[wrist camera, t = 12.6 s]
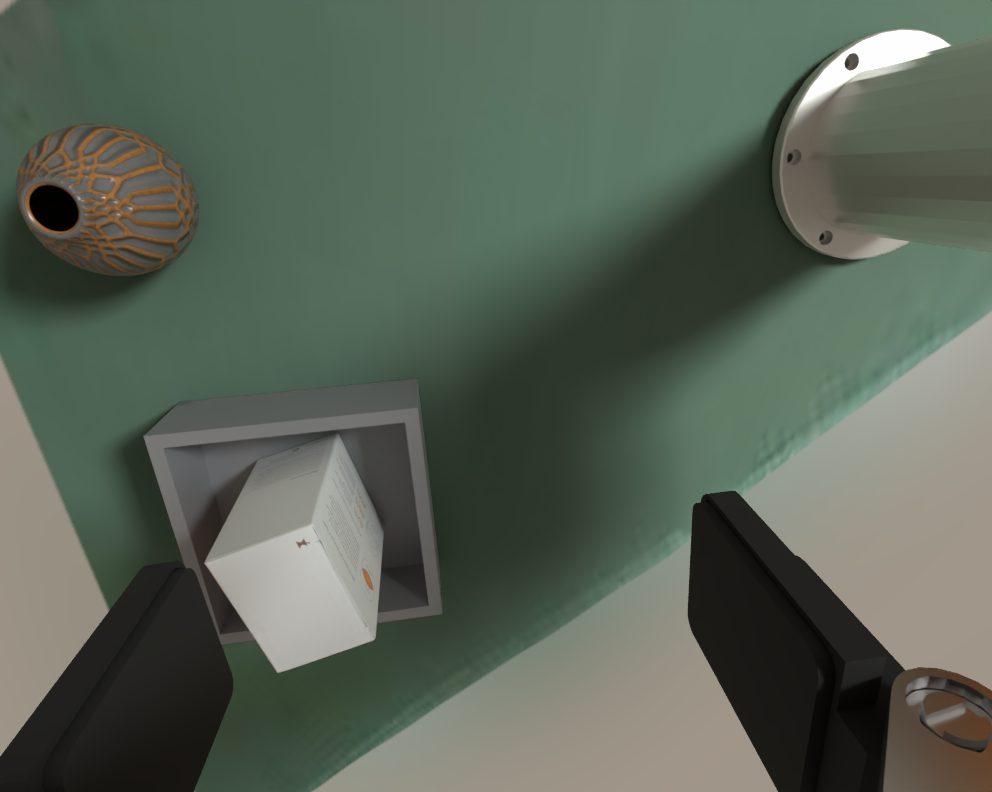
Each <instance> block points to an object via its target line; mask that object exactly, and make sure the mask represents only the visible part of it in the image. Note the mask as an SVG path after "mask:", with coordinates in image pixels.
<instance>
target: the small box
mask: <svg viewBox="0 0 992 792" xmlns="http://www.w3.org/2000/svg"><path fill="white" fill-rule="evenodd" d="M383 537H384V525H383V524H382V522H381V520H380V518H379V516H378V514H377V511H376V509H375V507H374V505H373V503H372V501H371V499H370V497H369V495H368V493H367V491H366V489H365V487H364V485H363V483H362V481H361V479H360V477H359V475H358V472H357V470H356V468H355V466H354V464H353V462H352V460H351V458H350V456H349V454H348V452H347V450H346V448H345V446H344V444H343V442H342V440H341V437H340V435H339V434H338V433H334V434H332V435H329V436H326V437H323V438H320V439H317V440H314V441H312V442H309V443H306V444H303V445H300V446H297V447H294V448H291V449H288V450H285V451H283V452H280V453H277V454H274V455H271V456H268V457H265V458H263V459H259V460H258V461H257V462H256V464H255V466H254V468H253V470H252V472H251V474H250V476H249V478H248V480H247V482H246V483H245V485H244V487H243V489H242V491H241V493H240V495H239V497H238V499H237V501H236V503H235V504H234V506H233V508H232V510H231V512H230V514H229V516H228V518H227V520H226V522H225V524H224V525H223V527H222V529H221V531H220V533H219V535H218V537H217V539H216V541H215V543H214V545H213V547H212V548H211V550H210V552H209V554H208V556H207V558H206V560H205V562H204V564H205V565H206V567H207V568H208V570H209V571H210V573H211V574H212V576H213V577H214V579H215V580H216V582H217V583H218V585H219V586H220V588H221V589H222V591H223V592H224V594H225V595H226V597H227V598H228V600H229V601H230V603H231V604H232V605H233V607H234V608H235V610H236V611H237V613H238V614H239V616H240V617H241V619H242V621H243V622H244V624H245V625H246V627H247V628H248V630H249V631H250V633H251V634H252V635H253V637H254V638H255V640H256V642H257V643H258V645H259V646H260V648H261V649H262V651H263V652H264V654H265V655H266V657H267V658H268V660H269V661H270V663H271V664H272V666H273V667H274V669H275V670H276V672H277V673H280V672H283V671H286V670H289V669H292V668H295V667H298V666H301V665H304V664H307V663H310V662H313V661H316V660H319V659H322V658H324V657H327V656H330V655H333V654H336V653H339V652H342V651H345V650H348V649H350V648H353V647H356V646H359V645H362V644H365V643H368V642H371V641H373V640H374V639H375V638H376V626H377V614H378V601H379V588H380V576H381V562H382V550H383Z"/></svg>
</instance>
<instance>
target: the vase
mask: <svg viewBox="0 0 992 792" xmlns="http://www.w3.org/2000/svg"><path fill="white" fill-rule="evenodd" d="M16 195H17V201H18V205H19V208H20V211H21V214H22V216H23V218H24V220H25V222H26V224H27V226H28V227H29V229H30V230H31V232H32V233H33V234H34V235H35V237H36V238H37V239H38V240H39V241H40V242H41V243H42V244H43V245H44V246H45V247H46V248H47V249H48V250H49V251H51V252H52V253H53V254H55V255H56V256H58V257H59V258H61V259H62V260H64V261H66V262H68V263H70V264H72V265H74V266H76V267H79V268H81V269H84V270H87V271H90V272H94V273H98V274H103V275H110V276H135V275H141V274H145V273H149V272H152V271H155V270H158V269H160V268H162V267H164V266H166V265H168V264H169V263H171V262H172V261H174V260H175V259H177V258H178V257H179V256H180V255H181V254H182V253H183V252H184V251H185V250H186V249H187V247H188V246H189V244H190V243H191V241H192V239H193V237H194V235H195V233H196V230H197V226H198V220H199V204H198V198H197V194H196V191H195V188H194V186H193V184H192V181H191V179H190V178H189V176H188V174H187V173H186V171H185V170H184V168H183V167H182V166H181V164H180V163H179V162H178V161H177V160H176V159H175V158H174V157H173V156H172V155H171V154H170V153H169V152H168V151H167V150H165V149H164V148H163V147H161V146H160V145H159V144H157V143H156V142H154V141H153V140H151V139H149V138H147V137H145V136H143V135H141V134H139V133H136V132H133V131H130V130H128V129H124V128H120V127H116V126H111V125H104V124H81V125H74V126H70V127H66V128H63V129H60V130H58V131H55V132H53V133H51V134H49V135H47V136H46V137H44V138H43V139H41V140H40V141H39V142H37V143H36V144H35V145H34V146H33V147H32V148H31V149H30V150H29V151H28V153H27V154H26V156H25V157H24V159H23V161H22V163H21V165H20V167H19V170H18V174H17V180H16Z"/></svg>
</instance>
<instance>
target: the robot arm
mask: <svg viewBox="0 0 992 792" xmlns="http://www.w3.org/2000/svg"><path fill="white" fill-rule="evenodd" d="M787 157H788V160H787ZM772 186H773V191H774V195H775V200H776V205H777V207H778V209H779V212H780V214H781V217H782V219H783V221H784V223H785V224H786V225H787V227H788V228H789V230H790V231H791V233H792V234H793V235H794V236H795V237H796V238H797V239H798V240H800V241H801V242H802V243H803V244H804V245H805V246H807V247H809V248H811V249H813V250H814V251H816V252H818V253H820V254H824V255H828V256H832V257H836V258H844V259H852V260H855V259H866V258H873V257H876V256H880V255H883V254H887V253H889V252H892V251H894V250H896V249H898V248H900V247H902V246H904V245H906V244H907V243H909V242H910V241H911V242H918V243H926V244H933V245H941V246H948V247H956V248H963V249H971V250H978V251H986V252H992V36H989V37H985V38H981V39H977V40H973V41H969V42H965V43H961V44H957V45H951V44H949V43H948V42H946V41H945V40H943V39H942V38H940V37H939V36H937V35H934V34H931V33H928V32H925V31H923V30H917V29H904V28H900V29H894V30H888V31H882V32H878V33H875V34H872V35H869V36H866V37H863V38H860V39H858V40H856V41H854V42H852V43H850V44H848V45H846V46H844V47H842V48H840V49H839V50H838V51H836V52H835V53H834V54H832V55H831V56H830V57H829V58H827V59H826V60H825V61H823V62H822V63H821V64H820V65H819V66H818V67H817V68H816V69H815V71H814V72H813V73H812V74H811V75H810V76H809V77H808V78H807V79H806V80H805V82H804V83H803V85H802V86H801V88H800V89H799V90H798V92H797V93H796V95H795V96H794V98H793V99H792V101H791V103H790V105H789V107H788V109H787V111H786V113H785V116H784V118H783V120H782V122H781V126H780V129H779V132H778V135H777V138H776V142H775V147H774V154H773V161H772ZM688 598H689V599H688V619H689V624H690V627H691V630H692V633H693V635H694V637H695V638H696V640H697V642H698V644H699V646H700V648H701V650H702V651H703V653H704V655H705V657H706V659H707V660H708V663H709V664H710V666H711V668H712V670H713V671H714V674H715V675H716V677H717V679H718V681H719V683H720V685H721V687H722V688H723V690H724V692H725V694H726V696H727V698H728V699H729V701H730V703H731V705H732V707H733V709H734V711H735V713H736V714H737V716H738V718H739V720H740V722H741V724H742V726H743V727H744V729H745V731H746V733H747V735H748V737H749V738H750V740H751V742H752V744H753V746H754V748H755V749H756V752H757V753H758V755H759V757H760V759H761V761H762V763H763V764H764V766H765V768H766V770H767V772H768V774H769V776H770V777H771V779H772V781H773V783H774V785H775V787H776V788H777V790H778V792H992V691H991V690H990V689H988V688H987V687H985V686H983V685H982V684H980V683H978V682H976V681H974V680H972V679H970V678H967V677H965V676H963V675H960V674H958V673H954V672H951V671H946V670H943V669H938V668H925V667H924V668H923V667H918V668H914V669H909V670H904V669H903V667H902V666H901V665H900V664H899V663H898V662H897V661H896V660H895V659H894V658H893V656H892V655H891V654H890V653H889V652H888V651H887V650H886V649H885V648H884V647H883V646H882V644H881V643H880V642H879V641H878V640H877V639H876V638H875V637H874V636H873V635H872V634H871V633H870V632H869V631H868V629H867V628H866V627H865V626H864V625H863V624H862V623H861V622H860V621H859V620H858V619H857V617H855V615H854V614H853V613H852V612H851V611H850V610H849V609H848V608H847V607H846V606H845V604H844V603H843V602H842V601H841V600H840V599H839V598H838V597H837V596H836V595H835V594H834V593H833V592H832V590H831V589H830V588H829V587H828V586H827V585H826V584H825V583H824V582H823V581H822V580H821V578H820V577H819V576H818V575H817V574H816V573H815V572H814V571H813V570H812V569H811V568H810V567H809V565H808V564H807V563H806V562H805V561H803V560H802V559H801V558H800V557H798V556H795V555H794V554H793V553H792V552H791V551H790V550H789V549H788V548H787V546H786V545H785V544H784V543H783V542H782V541H781V540H780V539H779V538H778V536H777V535H776V534H775V533H774V532H773V531H772V530H771V529H770V528H769V527H768V526H767V525H766V523H765V522H764V521H763V520H762V519H761V518H760V517H759V516H758V515H757V514H756V512H755V511H753V509H752V508H751V507H750V506H749V505H748V504H747V502H746V501H745V500H744V499H743V498H742V497H741V496H740V495H739V494H738V493H737V492H736V491H727V492H719V493H711V494H705V495H703V497H702V499H701V503H696V504H694V506H693V514H692V535H691V555H690V577H689V597H688ZM232 691H233V677H232V673H231V670H230V668H229V665H228V662H227V659H226V656H225V654H224V651H223V648H222V645H221V642H220V640H219V637H218V634H217V631H216V628H215V626H214V623H213V620H212V617H211V614H210V612H209V609H208V606H207V603H206V600H205V598H204V595H203V592H202V589H201V586H200V584H199V581H198V578H197V575H196V573H195V571H194V570H193V569H191V568H186V567H185V565H184V564H183V563H182V562H178V561H177V562H169V563H161V564H153V565H147V566H144V567H143V568H142V569H141V570H140V571H139V572H138V574H137V575H136V576H135V578H134V579H133V580H132V582H131V583H130V584H129V586H128V587H127V588H126V590H125V591H124V592H123V594H122V595H121V596H120V598H119V599H118V600H117V602H116V603H115V604H114V606H113V607H112V608H111V610H110V611H109V612H108V614H107V615H106V616H105V618H104V619H103V620H102V622H101V623H100V624H99V626H98V627H97V628H96V630H95V631H94V632H93V634H92V635H91V636H90V638H89V639H88V640H87V642H86V643H85V644H84V646H83V647H82V648H81V650H80V651H79V652H78V654H77V655H76V656H75V658H74V659H73V660H72V662H71V663H70V664H69V666H68V667H67V668H66V670H65V671H64V672H63V674H62V675H61V676H60V678H59V679H58V680H57V682H56V683H55V684H54V686H53V687H52V688H51V690H50V691H49V692H48V694H47V695H46V696H45V698H44V699H43V700H42V702H41V703H40V704H39V706H38V707H37V708H36V710H35V711H34V713H33V714H32V715H31V716H30V718H29V719H28V721H27V722H26V723H25V724H24V726H23V727H22V728H21V730H20V731H19V732H18V734H17V735H16V737H15V738H14V739H13V740H12V742H11V743H10V744H9V746H8V747H7V749H6V750H5V751H4V752H3V754H2V755H1V756H0V792H194V790H195V787H196V784H197V782H198V779H199V777H200V774H201V772H202V769H203V767H204V764H205V762H206V759H207V757H208V754H209V752H210V749H211V747H212V744H213V742H214V739H215V737H216V734H217V732H218V729H219V727H220V724H221V722H222V719H223V717H224V714H225V712H226V709H227V706H228V704H229V701H230V699H231V696H232Z"/></svg>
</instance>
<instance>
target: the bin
mask: <svg viewBox="0 0 992 792" xmlns="http://www.w3.org/2000/svg"><path fill="white" fill-rule="evenodd" d="M334 433H338V434H339V435H340V437H341V440H342V442H343V444H344V446H345V448H346V450H347V452H348V454H349V456H350V458H351V460H352V462H353V464H354V466H355V468H356V470H357V472H358V475H359V477H360V479H361V481H362V483H363V485H364V487H365V489H366V491H367V493H368V495H369V497H370V499H371V501H372V503H373V505H374V507H375V509H376V511H377V514H378V516H379V518H380V520H381V522H382V524H383V525H384V537H383V550H382V562H381V576H380V588H379V601H378V614H377V623H382V622H389V621H396V620H403V619H410V618H418V617H425V616H432V615H439V614H443V613H442V595H441V578H440V563H439V554H438V546H437V537H436V529H435V520H434V512H433V503H432V495H431V486H430V478H429V469H428V461H427V452H426V444H425V435H424V427H423V419H422V410H421V402H420V393H419V385H418V378H417V379H407V380H397V381H387V382H377V383H367V384H357V385H347V386H337V387H327V388H316V389H306V390H296V391H286V392H276V393H266V394H256V395H246V396H236V397H226V398H215V399H205V400H195V401H185V402H179V403H178V404H177V405H176V406H175V407H174V408H173V409H172V410H171V411H170V412H169V413H168V414H166V415H165V416H164V417H163V418H162V419H161V420H160V421H159V422H158V423H157V424H156V425H155V426H154V427H153V428H152V429H151V430H150V431H149V432H148V433H146V434H145V435H144V436H143V437H144V440H145V443H146V446H147V449H148V453H149V456H150V459H151V462H152V465H153V468H154V471H155V475H156V478H157V481H158V484H159V487H160V490H161V493H162V497H163V500H164V503H165V506H166V509H167V512H168V515H169V519H170V522H171V525H172V528H173V531H174V534H175V537H176V541H177V544H178V547H179V550H180V553H181V556H182V559H183V563H184V565H185V567H186V568H191V569H193V570H194V571H195V573H196V575H197V578H198V581H199V584H200V586H201V589H202V592H203V595H204V598H205V600H206V603H207V606H208V609H209V612H210V614H211V617H212V620H213V623H214V626H215V628H216V631H217V634H218V637H219V640H220V642H221V645H223V644H231V643H238V642H245V641H252V640H255V638H254V637H253V635H252V634H251V633H250V631H249V630H248V628H247V627H246V625H245V624H244V622H243V621H242V619H241V617H240V616H239V614H238V613H237V611H236V610H235V608H234V607H233V605H232V604H231V603H230V601H229V600H228V598H227V597H226V595H225V594H224V592H223V591H222V589H221V588H220V586H219V585H218V583H217V582H216V580H215V579H214V577H213V576H212V574H211V573H210V571H209V570H208V568H207V567H206V565H205V564H204V562H205V560H206V558H207V556H208V554H209V552H210V550H211V548H212V547H213V545H214V543H215V541H216V539H217V537H218V535H219V533H220V531H221V529H222V527H223V525H224V524H225V522H226V520H227V518H228V516H229V514H230V512H231V510H232V508H233V506H234V504H235V503H236V501H237V499H238V497H239V495H240V493H241V491H242V489H243V487H244V485H245V483H246V482H247V480H248V478H249V476H250V474H251V472H252V470H253V468H254V466H255V464H256V462H257V461H258V460H259V459H263V458H265V457H268V456H271V455H274V454H277V453H280V452H283V451H285V450H288V449H291V448H294V447H297V446H300V445H303V444H306V443H309V442H312V441H314V440H317V439H320V438H323V437H326V436H329V435H332V434H334Z"/></svg>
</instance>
